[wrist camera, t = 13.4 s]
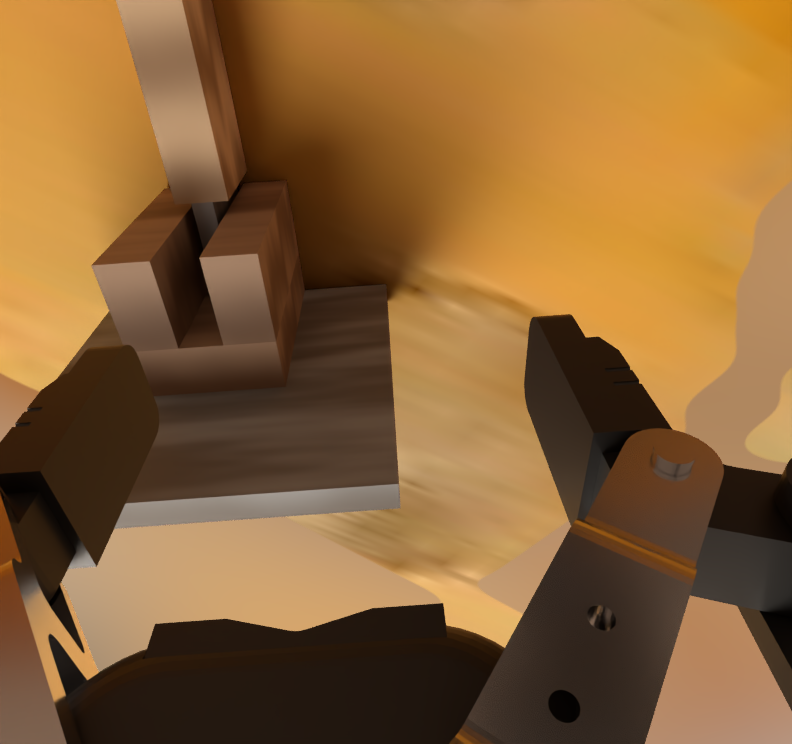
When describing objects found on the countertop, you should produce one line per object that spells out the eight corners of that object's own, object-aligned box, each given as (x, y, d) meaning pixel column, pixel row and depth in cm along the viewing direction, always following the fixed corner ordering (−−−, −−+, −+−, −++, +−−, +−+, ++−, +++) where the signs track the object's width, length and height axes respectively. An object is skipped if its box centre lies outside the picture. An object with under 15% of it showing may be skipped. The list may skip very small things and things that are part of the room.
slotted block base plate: (73, 195, 37) (-162, 368, 21) (377, 173, 37) (386, 329, 21) (122, 322, 42) (-32, 539, 26) (387, 303, 42) (400, 508, 26)
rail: (129, -109, 28) (79, -126, 24) (188, -113, 28) (151, -132, 24) (216, 233, 39) (194, 270, 34) (259, 230, 39) (243, 266, 34)
